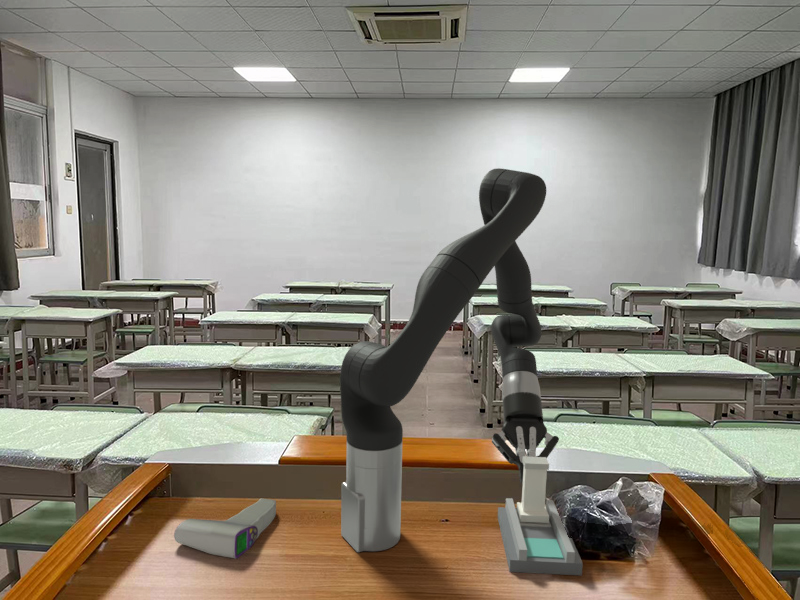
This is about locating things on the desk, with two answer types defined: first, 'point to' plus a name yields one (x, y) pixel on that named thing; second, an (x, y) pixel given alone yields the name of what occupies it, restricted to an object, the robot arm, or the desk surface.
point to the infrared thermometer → (227, 530)
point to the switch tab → (534, 490)
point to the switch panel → (537, 543)
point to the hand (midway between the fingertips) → (528, 485)
